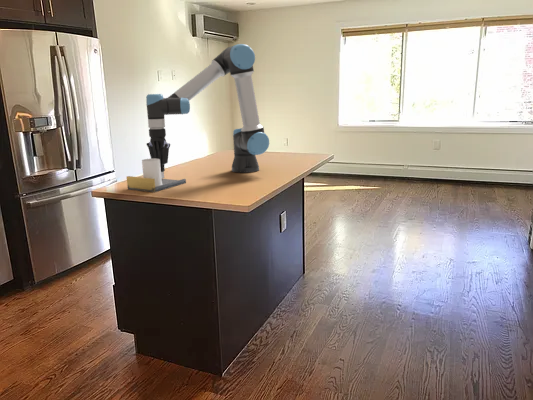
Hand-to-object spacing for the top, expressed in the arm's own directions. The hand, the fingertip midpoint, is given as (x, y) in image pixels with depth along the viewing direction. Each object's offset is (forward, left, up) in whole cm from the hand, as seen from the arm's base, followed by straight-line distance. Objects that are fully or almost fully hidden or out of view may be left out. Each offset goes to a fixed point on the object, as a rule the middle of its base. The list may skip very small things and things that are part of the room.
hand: (161, 178), depth 205 cm
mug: (0, +5, -2) cm, 5 cm away
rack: (0, +3, -3) cm, 4 cm away
